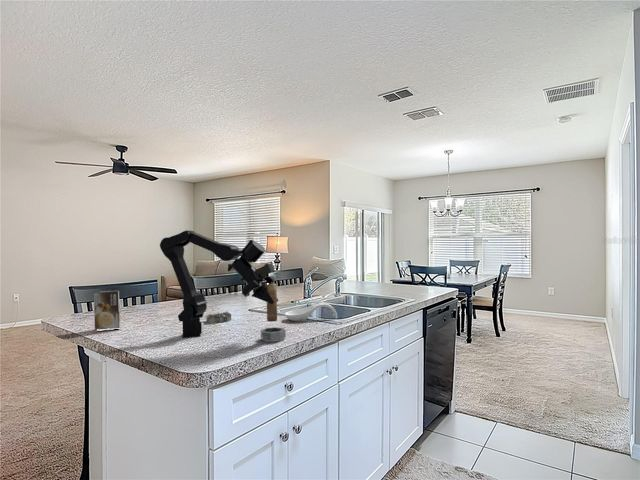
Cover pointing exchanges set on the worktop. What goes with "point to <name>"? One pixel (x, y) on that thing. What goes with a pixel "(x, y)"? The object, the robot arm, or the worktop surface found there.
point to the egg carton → (218, 317)
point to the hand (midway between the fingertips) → (275, 302)
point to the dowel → (273, 307)
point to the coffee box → (106, 309)
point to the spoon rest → (307, 312)
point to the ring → (273, 334)
